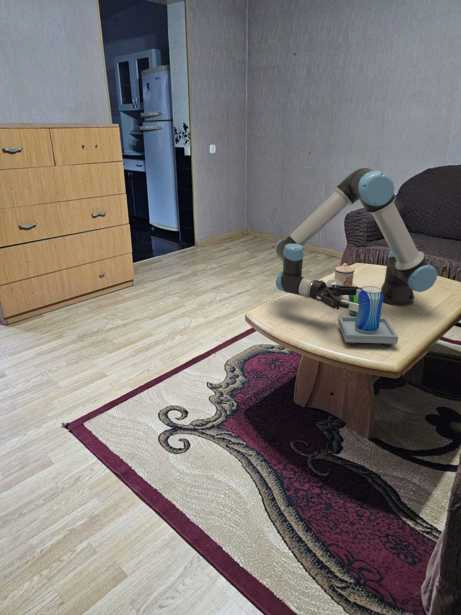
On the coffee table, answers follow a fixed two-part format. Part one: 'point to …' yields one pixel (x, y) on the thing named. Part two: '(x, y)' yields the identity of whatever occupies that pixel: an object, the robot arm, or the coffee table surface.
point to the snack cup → (355, 300)
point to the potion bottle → (335, 282)
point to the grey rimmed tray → (380, 336)
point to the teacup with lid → (344, 274)
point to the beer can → (369, 309)
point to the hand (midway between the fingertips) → (366, 302)
